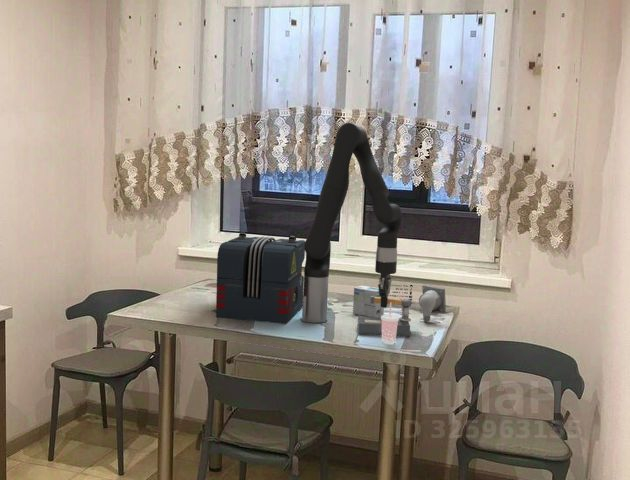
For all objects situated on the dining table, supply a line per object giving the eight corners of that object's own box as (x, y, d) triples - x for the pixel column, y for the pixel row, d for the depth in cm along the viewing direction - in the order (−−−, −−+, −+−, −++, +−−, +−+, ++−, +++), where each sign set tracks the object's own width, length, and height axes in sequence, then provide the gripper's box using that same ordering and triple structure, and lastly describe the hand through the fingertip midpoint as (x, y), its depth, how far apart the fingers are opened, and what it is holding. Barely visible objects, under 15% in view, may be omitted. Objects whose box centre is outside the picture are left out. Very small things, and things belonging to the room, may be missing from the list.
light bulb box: (383, 315, 268) (385, 288, 266) (375, 318, 262) (377, 291, 261) (360, 310, 274) (362, 284, 272) (352, 313, 268) (353, 287, 267)
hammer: (370, 303, 246) (370, 297, 245) (371, 301, 249) (372, 295, 249) (410, 307, 242) (410, 301, 242) (411, 305, 246) (411, 299, 245)
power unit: (286, 324, 248) (289, 243, 244) (215, 317, 254) (217, 238, 250) (302, 307, 276) (305, 234, 271) (238, 301, 281) (240, 230, 277)
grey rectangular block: (358, 334, 238) (359, 308, 237) (357, 327, 248) (358, 302, 247) (412, 337, 238) (413, 311, 237) (409, 329, 248) (410, 304, 247)
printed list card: (444, 308, 285) (445, 285, 284) (447, 314, 274) (449, 290, 272) (381, 304, 287) (382, 281, 285) (381, 310, 275) (383, 287, 274)
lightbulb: (426, 324, 255) (428, 296, 254) (415, 321, 260) (416, 293, 259) (437, 323, 259) (439, 295, 258) (426, 319, 264) (428, 291, 262)
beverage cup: (396, 345, 227) (399, 305, 225) (378, 344, 228) (381, 303, 226) (397, 340, 233) (400, 301, 231) (380, 339, 234) (382, 299, 232)
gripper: (379, 256, 248) (377, 302, 250) (372, 261, 236) (369, 309, 238) (399, 258, 246) (397, 304, 248) (393, 262, 234) (390, 311, 236)
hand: (383, 307), depth 243 cm, fingers closed
